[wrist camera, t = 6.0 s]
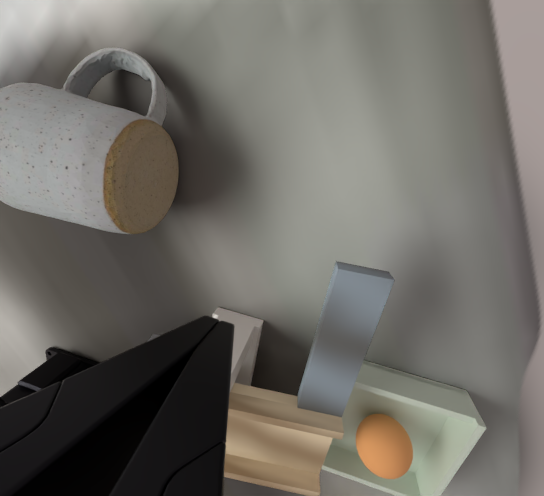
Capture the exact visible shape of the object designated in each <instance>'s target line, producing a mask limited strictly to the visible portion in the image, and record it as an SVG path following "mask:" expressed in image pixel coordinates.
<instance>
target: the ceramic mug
mask: <svg viewBox="0 0 544 496" xmlns="http://www.w3.org/2000/svg"><path fill="white" fill-rule="evenodd" d="M121 69H124V70H127V71H130V72H132V73H136V74H138V75H140V76H141V77H142V78H143V79H144V80H148V81H151V82H152V89H153V91H152V97H151V104H150V105H149V110H148V113H147V115H146V116H142V115H140V114H138V113H135V112H132V111H129V110H126V109H123V108H119V107H115V106H110V105H107V104H103V103H100V102H96V101H93V100H90V99H87V97H88V95H89V93H90V92H91V89H92V88H93V87H94V85H95V84H96V83H97V82H98V81H99V80H100V79H101V78H102V77H104V76H105V75H106V74H108V73H110V72H112V71H114V70H121ZM166 113H167V93H166V89H165V86H164V84H163V82H162V80H161V79H160V77H159V76H158V75H157V73H156V72H155V70H154V69H153V68H152V66H151V65H150V64H149V63H148V62H147V61H146V60H145V59H144V58H142V57H141V56H140V55H138V54H136V53H134V52H132V51H129V50H126V49H122V48H116V47H110V48H104V49H100V50H97V51H95V52H93V53H92V54H90V55H88V56H87V57H86V58H85V59H83V60H82V61H81V62H80V63H79V64H78V65H77V66H76V67H75V69H74V70H73V71H72V72H71V73H70V75H69V77H68V79H67V81H66V82H65V84H64V86H63V88H62V89H60V90H59V89H55V88H52V87H49V86H45V85H41V84H36V83H16V84H12V85H9V86H7V87H4V88H0V200H1V201H2V202H4V203H6V204H8V205H10V206H12V207H14V208H17V209H20V210H24V211H28V212H32V213H37V214H41V215H44V216H48V217H53V218H57V219H61V220H65V221H69V222H73V223H77V224H82V225H85V226H89V227H93V228H96V229H100V230H104V231H109V232H115V233H125V234H139V233H143V232H146V231H148V230H150V229H152V228H153V227H155V226H156V225H157V224H158V223H159V222H161V220H162V219H163V218H164V217H165V215H166V214H167V212H168V210H169V209H170V207H171V205H172V202H173V200H174V197H175V194H176V189H177V185H178V177H179V164H178V156H177V152H176V149H175V146H174V144H173V141H172V139H171V137H170V136H169V134H168V133H167V132H166V131H165V130H164V129H163V127H162V124H163V122H164V119H165V116H166Z"/></svg>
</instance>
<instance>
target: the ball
mask: <svg viewBox="0 0 544 496" xmlns="http://www.w3.org/2000/svg"><path fill="white" fill-rule="evenodd" d="M356 447H357V451H358V454H359V456H360V458H361V460H362V462H363V463H364V465H365V466H366V467H367V468H368V469H369V470H370V471H371V472H372V473H374V474H375V475H377V476H379V477H381V478H385V479H396V478H399V477H401V476H403V475H404V474H405V473H406V472H407V471H408V470H409V468H410V466H411V464H412V460H413V447H412V443H411V440H410V437H409V435H408V433H407V432H406V430H405V429H404V428H403V426H402V425H401V424H400V423H399V422H398V421H396V420H395V419H393V418H392V417H390V416H387V415H384V414H372V415H369V416H367V417H366V418H364V419H363V420H362V421H361V423H360V424H359V426H358V428H357V431H356Z"/></svg>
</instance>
